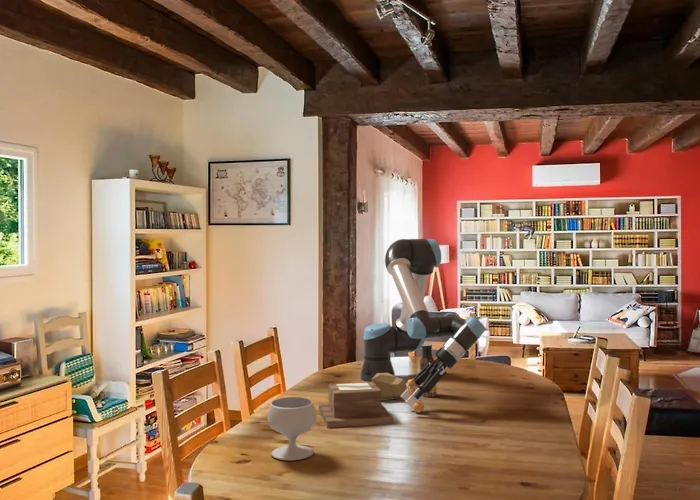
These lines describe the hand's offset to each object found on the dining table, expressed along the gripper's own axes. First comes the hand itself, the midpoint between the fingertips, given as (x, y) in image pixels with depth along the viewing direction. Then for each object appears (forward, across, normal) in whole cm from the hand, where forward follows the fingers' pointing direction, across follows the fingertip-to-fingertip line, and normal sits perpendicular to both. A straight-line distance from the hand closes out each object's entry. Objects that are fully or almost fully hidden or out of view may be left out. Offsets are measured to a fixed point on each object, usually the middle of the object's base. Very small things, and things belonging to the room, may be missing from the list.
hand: (405, 401), depth 217 cm
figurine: (0, 0, -5) cm, 5 cm away
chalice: (+33, -33, +27) cm, 54 cm away
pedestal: (+16, 0, +10) cm, 19 cm away
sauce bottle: (-7, +21, -13) cm, 26 cm away
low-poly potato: (+4, +19, -2) cm, 20 cm away
